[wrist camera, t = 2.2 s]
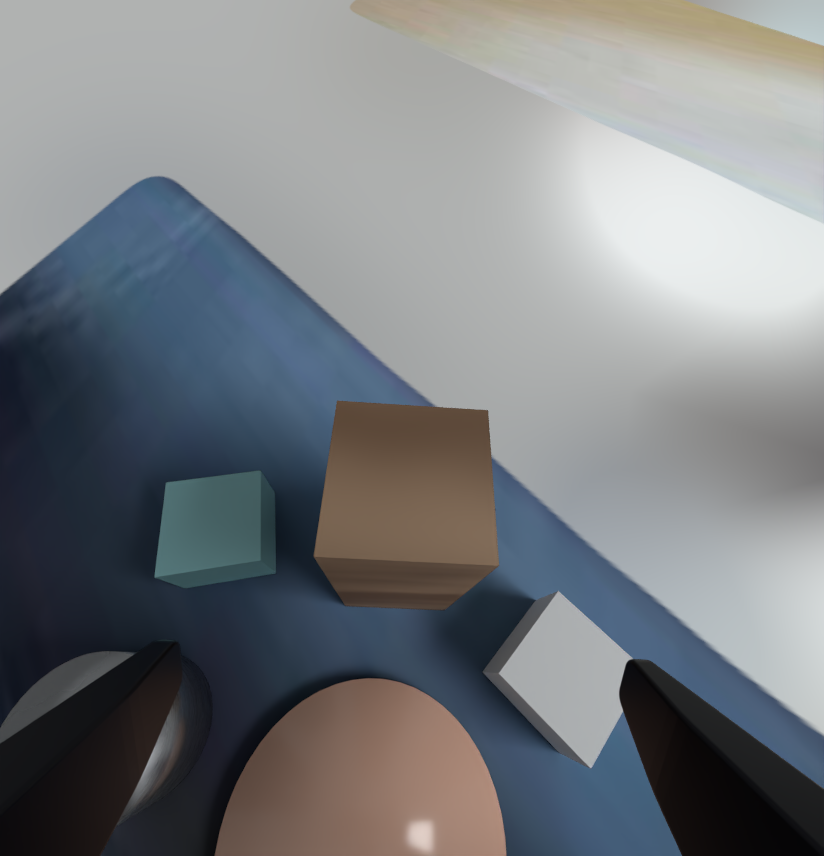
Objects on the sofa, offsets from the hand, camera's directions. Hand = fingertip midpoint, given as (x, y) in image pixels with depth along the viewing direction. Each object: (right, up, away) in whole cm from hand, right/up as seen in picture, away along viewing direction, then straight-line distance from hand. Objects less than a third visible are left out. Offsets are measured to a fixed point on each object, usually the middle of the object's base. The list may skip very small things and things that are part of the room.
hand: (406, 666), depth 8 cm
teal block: (-9, -1, +12) cm, 14 cm away
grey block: (+6, -6, +10) cm, 13 cm away
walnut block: (-1, -1, +11) cm, 12 cm away
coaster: (-2, -10, +6) cm, 12 cm away
